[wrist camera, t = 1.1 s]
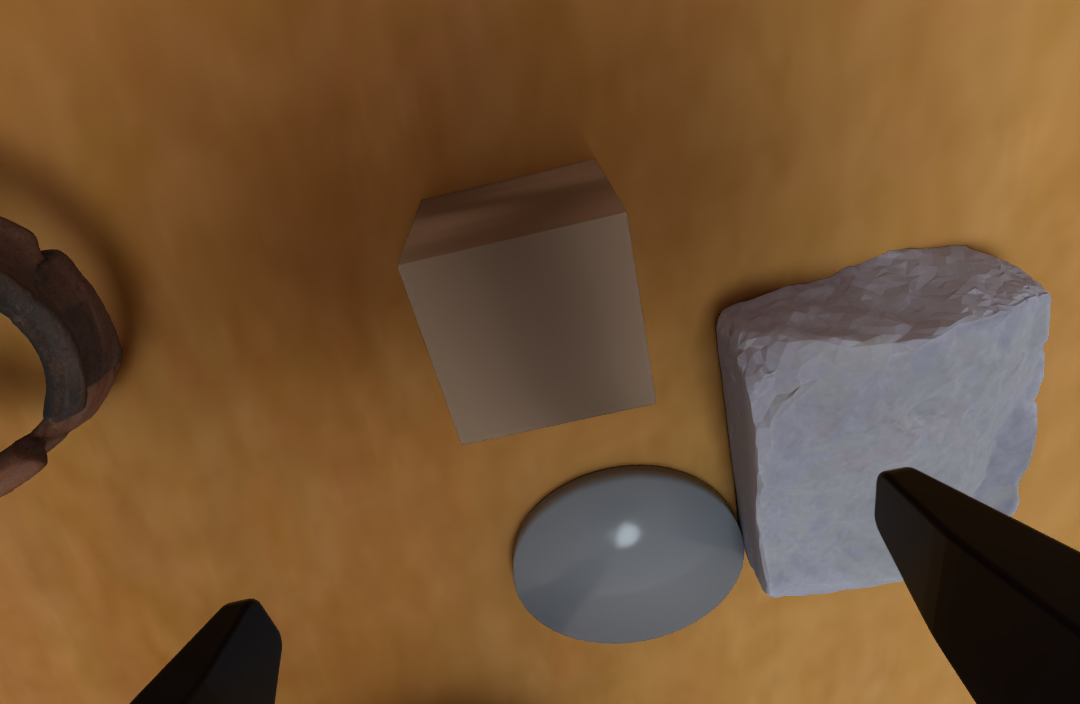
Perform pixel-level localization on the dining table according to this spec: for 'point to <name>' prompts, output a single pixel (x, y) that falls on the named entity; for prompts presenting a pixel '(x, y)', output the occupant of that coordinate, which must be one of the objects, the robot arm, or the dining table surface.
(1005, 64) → the dining table surface
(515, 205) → the walnut cube
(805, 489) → the stone block
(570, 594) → the slate coaster
